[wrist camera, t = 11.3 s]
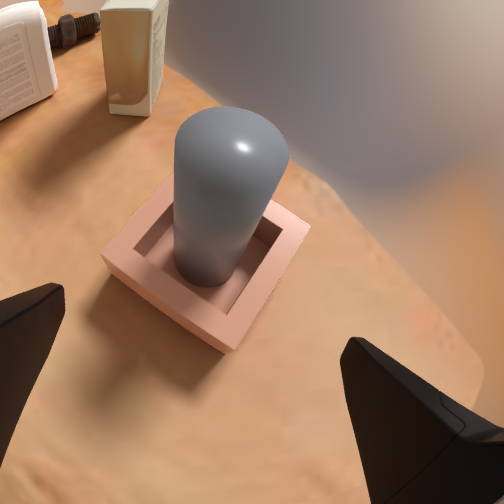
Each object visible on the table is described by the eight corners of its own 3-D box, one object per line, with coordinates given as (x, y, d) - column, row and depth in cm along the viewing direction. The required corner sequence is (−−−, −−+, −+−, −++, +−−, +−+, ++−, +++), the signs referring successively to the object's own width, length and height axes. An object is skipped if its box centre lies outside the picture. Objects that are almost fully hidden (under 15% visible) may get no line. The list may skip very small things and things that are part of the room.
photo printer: (55, 75, 28) (41, -13, 17) (61, 93, 27) (43, -2, 16) (-19, 113, 24) (-52, 32, 13) (-19, 135, 23) (-58, 49, 12)
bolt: (100, 45, 34) (1, 84, 27) (93, 20, 32) (-4, 57, 26) (105, 23, 29) (-8, 65, 22) (97, -3, 27) (-11, 36, 21)
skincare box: (125, 77, 29) (125, -20, 18) (163, 80, 30) (172, -19, 19) (107, 117, 27) (97, 8, 16) (149, 119, 28) (153, 8, 17)
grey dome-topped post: (196, 299, 22) (215, 213, 11) (162, 246, 23) (154, 128, 12) (249, 266, 24) (310, 165, 13) (215, 217, 24) (246, 96, 14)
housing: (224, 354, 22) (234, 350, 18) (111, 273, 22) (100, 253, 18) (291, 247, 26) (310, 226, 22) (190, 180, 26) (194, 150, 23)
